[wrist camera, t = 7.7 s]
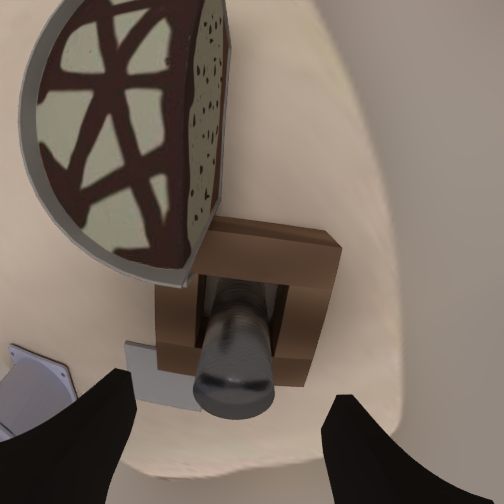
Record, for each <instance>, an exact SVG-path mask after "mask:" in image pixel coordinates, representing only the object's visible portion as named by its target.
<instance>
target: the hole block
mask: <svg viewBox="0 0 504 504" xmlns="http://www.w3.org/2000/svg"><path fill="white" fill-rule="evenodd" d="M341 252H342V247H341V246H340V245H339V244H338V243H337V242H336V241H335V240H334V239H333V238H332V237H331V236H330V235H329V234H328V233H327V232H326V231H323V230H316V229H309V228H302V227H295V226H288V225H281V224H274V223H267V222H259V221H252V220H244V219H236V218H229V217H220V216H213V219H212V221H211V223H210V225H209V228H208V230H207V232H206V234H205V237H204V239H203V241H202V244H201V246H200V248H199V251H198V253H197V255H196V258H195V260H194V262H193V265H192V267H191V269H190V272H193V273H195V278H194V279H193V281H192V282H191V283H190V284H189V285H188V286H187V287H182V288H175V287H169V286H162V285H156V284H155V331H156V354H157V370H161V371H166V372H171V373H177V374H182V375H188V376H196V372H197V368H198V364H199V359H200V355H201V351H202V347H203V343H204V339H205V335H206V330H207V326H208V322H209V318H208V317H203V312H204V299H205V286H206V275H210V276H217V277H225V278H233V279H241V280H248V281H257V282H265V283H273V284H279V285H278V290H277V296H276V301H275V306H274V311H273V317H272V322H271V325H268V326H269V337H270V348H271V358H272V369H273V380H274V385H275V386H292V387H304V384H305V381H306V378H307V375H308V372H309V369H310V366H311V363H312V360H313V357H314V353H315V350H316V347H317V344H318V340H319V337H320V333H321V330H322V326H323V323H324V319H325V316H326V312H327V309H328V305H329V301H330V297H331V293H332V289H333V286H334V282H335V277H336V273H337V269H338V265H339V261H340V256H341Z"/></svg>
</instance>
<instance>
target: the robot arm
mask: <svg viewBox="0 0 504 504" xmlns="http://www.w3.org/2000/svg"><path fill="white" fill-rule="evenodd" d="M8 349H9V352H10V355H11V358H12V360H13V363H14V367H13V368H12V369H11V370H10V371H9V373H8V374H7V375H6V376H5V377H4V378H3V379H2V381H1V382H0V504H105V501H106V496H107V492H108V489H109V485H110V482H111V479H112V476H113V474H114V472H115V469H116V467H117V464H118V462H119V459H120V457H121V455H122V452H123V450H124V447H125V445H126V443H127V440H128V438H129V435H130V433H131V430H132V426H133V423H134V419H135V415H136V412H137V406H136V400H135V394H134V388H133V382H132V375H131V372H129V371H125V370H121V369H117V368H115V369H113V370H112V371H111V372H110V373H108V374H107V375H106V376H105V377H104V378H103V379H101V380H100V381H99V382H98V383H97V384H96V385H94V386H93V387H92V388H91V389H90V390H88V391H87V392H86V393H85V394H83V395H82V396H81V397H79V398H78V399H77V397H76V394H75V391H74V388H73V385H72V382H71V379H70V376H69V372H68V369H67V368H66V367H65V366H64V365H62V364H59V363H56V362H54V361H51V360H48V359H46V358H43V357H41V356H38V355H36V354H33V353H31V352H28V351H26V350H23V349H21V348H19V347H17V346H14V345H12V344H10V345H9V346H8ZM321 437H322V447H323V454H324V459H325V463H326V467H327V471H328V476H329V480H330V484H331V489H332V493H333V497H334V502H335V504H494V502H493V501H492V500H490V499H486V498H483V497H480V496H477V495H474V494H471V493H469V492H466V491H464V490H461V489H460V488H457V487H455V486H453V485H451V484H450V483H448V482H446V481H444V480H442V479H441V478H439V477H438V476H436V475H434V474H433V473H431V472H430V471H428V470H427V469H426V468H424V467H423V466H422V465H420V464H419V463H418V462H417V461H415V460H414V459H413V458H411V457H410V456H409V455H408V454H407V453H406V452H405V451H404V450H403V449H402V448H401V447H399V446H398V445H397V444H396V443H395V442H394V441H393V440H392V439H391V438H390V437H389V436H388V435H387V433H386V432H385V431H384V430H383V429H382V428H381V427H380V426H379V425H378V424H377V422H376V421H375V420H374V419H373V418H372V417H371V416H370V414H369V413H368V412H367V411H366V410H365V409H364V407H363V406H362V405H361V404H360V403H359V402H358V400H357V399H356V398H355V397H354V396H353V395H352V394H350V395H336V398H335V400H334V402H333V404H332V407H331V409H330V411H329V413H328V415H327V417H326V420H325V422H324V424H323V426H322V428H321Z"/></svg>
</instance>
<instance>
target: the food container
mask: <svg viewBox="0 0 504 504" xmlns="http://www.w3.org/2000/svg"><path fill="white" fill-rule="evenodd" d="M230 56H231V41H230V33H229V26H228V18H227V11H226V3H225V0H62V2H61V3H60V4H59V6H58V7H57V8H56V10H55V11H54V12H53V14H52V15H51V16H50V18H49V19H48V21H47V23H46V24H45V26H44V28H43V30H42V31H41V33H40V35H39V37H38V39H37V41H36V43H35V45H34V47H33V50H32V52H31V55H30V57H29V60H28V63H27V66H26V69H25V72H24V77H23V81H22V86H21V91H20V96H19V110H18V130H19V141H20V149H21V153H22V157H23V161H24V165H25V169H26V173H27V176H28V178H29V180H30V183H31V185H32V187H33V189H34V192H35V194H36V196H37V198H38V200H39V202H40V203H41V205H42V206H43V208H44V209H45V211H46V212H47V214H48V215H49V217H50V218H51V220H52V221H53V222H54V223H55V225H56V226H57V227H58V228H59V229H60V230H61V231H62V232H63V233H64V234H65V235H66V236H67V237H68V239H69V240H70V241H71V242H72V243H74V244H75V245H76V246H78V247H79V248H80V249H81V250H83V251H84V252H85V253H87V254H88V255H89V256H91V257H92V258H93V259H95V260H96V261H98V262H100V263H102V264H104V265H106V266H108V267H110V268H112V269H114V270H115V271H117V272H119V273H121V274H124V275H127V276H130V277H133V278H136V279H139V280H142V281H145V282H148V283H151V284H156V285H162V286H169V287H175V288H182V287H187V286H188V285H189V284H190V283H191V282H192V281H193V279H194V278H195V273H193V272H190V269H191V267H192V265H193V262H194V260H195V258H196V255H197V253H198V251H199V248H200V246H201V244H202V241H203V239H204V237H205V234H206V232H207V230H208V228H209V225H210V223H211V221H212V219H213V216H214V214H215V212H216V210H217V208H218V205H219V203H220V201H221V191H222V170H223V152H224V135H225V120H226V106H227V92H228V79H229V67H230Z"/></svg>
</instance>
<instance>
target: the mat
mask: <svg viewBox="0 0 504 504" xmlns="http://www.w3.org/2000/svg"><path fill="white" fill-rule="evenodd" d="M124 345H125V354H126V361H127V368H128V371H129V372H131V375H132V382H133V388H134V394H135V399H138V400H143V401H147V402H151V403H156V404H161V405H166V406H171V407H176V408H182V409H187V410H193V411H200V412H201V409H202V407H200V406H199V404H198V403H197V402H196V400H195V398H194V395H193V385H194V381H195V376H188V375H182V374H177V373H171V372H166V371H161V370H157V354H156V347H153V346H148V345H143V344H138V343H133V342H129V341H126V342H125V344H124Z"/></svg>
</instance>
